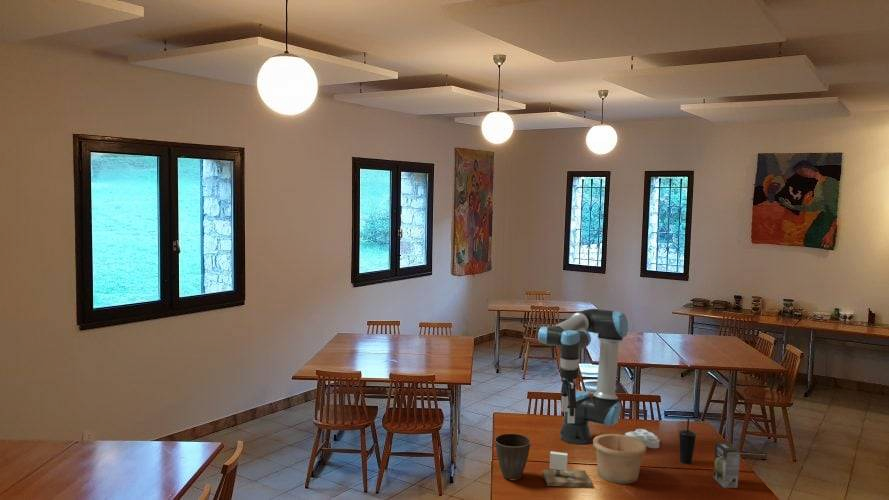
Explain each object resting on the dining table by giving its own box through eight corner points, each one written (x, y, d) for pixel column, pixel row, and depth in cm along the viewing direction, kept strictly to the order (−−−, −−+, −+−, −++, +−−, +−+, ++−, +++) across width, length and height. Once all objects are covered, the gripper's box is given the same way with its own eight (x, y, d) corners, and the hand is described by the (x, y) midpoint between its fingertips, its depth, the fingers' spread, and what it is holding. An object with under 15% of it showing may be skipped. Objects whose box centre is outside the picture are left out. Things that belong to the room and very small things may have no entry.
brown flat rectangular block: (547, 486, 265) (547, 481, 265) (542, 474, 277) (542, 469, 277) (591, 487, 265) (591, 482, 265) (584, 475, 277) (584, 470, 277)
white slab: (575, 477, 268) (576, 456, 267) (549, 474, 271) (550, 453, 270) (575, 475, 270) (576, 454, 270) (549, 472, 273) (550, 451, 272)
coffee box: (712, 478, 277) (714, 441, 276) (727, 478, 277) (729, 441, 276) (723, 488, 268) (725, 450, 266) (738, 487, 268) (740, 449, 267)
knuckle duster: (622, 435, 326) (649, 435, 328) (637, 449, 308) (666, 448, 310) (622, 429, 326) (650, 428, 328) (637, 442, 308) (666, 441, 310)
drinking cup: (696, 466, 289) (698, 422, 288) (678, 464, 291) (680, 421, 289) (693, 459, 297) (695, 417, 295) (675, 457, 298) (678, 415, 296)
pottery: (587, 464, 289) (588, 432, 288) (637, 466, 288) (638, 434, 287) (597, 485, 267) (598, 451, 266) (650, 487, 266) (652, 453, 265)
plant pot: (506, 487, 263) (507, 449, 262) (487, 473, 276) (488, 436, 275) (536, 480, 270) (537, 443, 269) (516, 467, 283) (517, 431, 282)
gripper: (585, 376, 259) (583, 428, 261) (572, 359, 283) (570, 407, 286) (566, 376, 259) (564, 428, 261) (555, 359, 283) (553, 406, 285)
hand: (567, 417), depth 273 cm, fingers open, 13 cm apart
